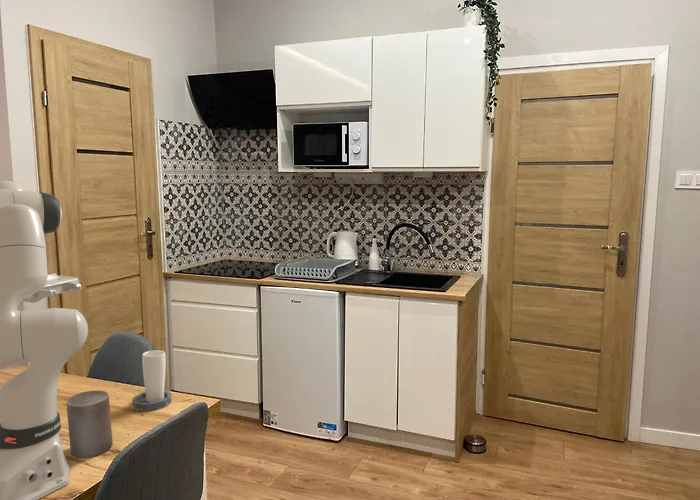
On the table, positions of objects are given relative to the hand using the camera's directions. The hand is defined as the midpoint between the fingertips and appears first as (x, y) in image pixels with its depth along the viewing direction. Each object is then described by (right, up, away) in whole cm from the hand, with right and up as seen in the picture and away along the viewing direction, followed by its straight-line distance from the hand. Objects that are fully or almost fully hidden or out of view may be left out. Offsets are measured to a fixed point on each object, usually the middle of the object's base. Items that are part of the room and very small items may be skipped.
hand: (66, 290), depth 158 cm
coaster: (+23, -35, +6) cm, 43 cm away
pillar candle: (+18, -39, -22) cm, 48 cm away
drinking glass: (+24, -35, +7) cm, 43 cm away
